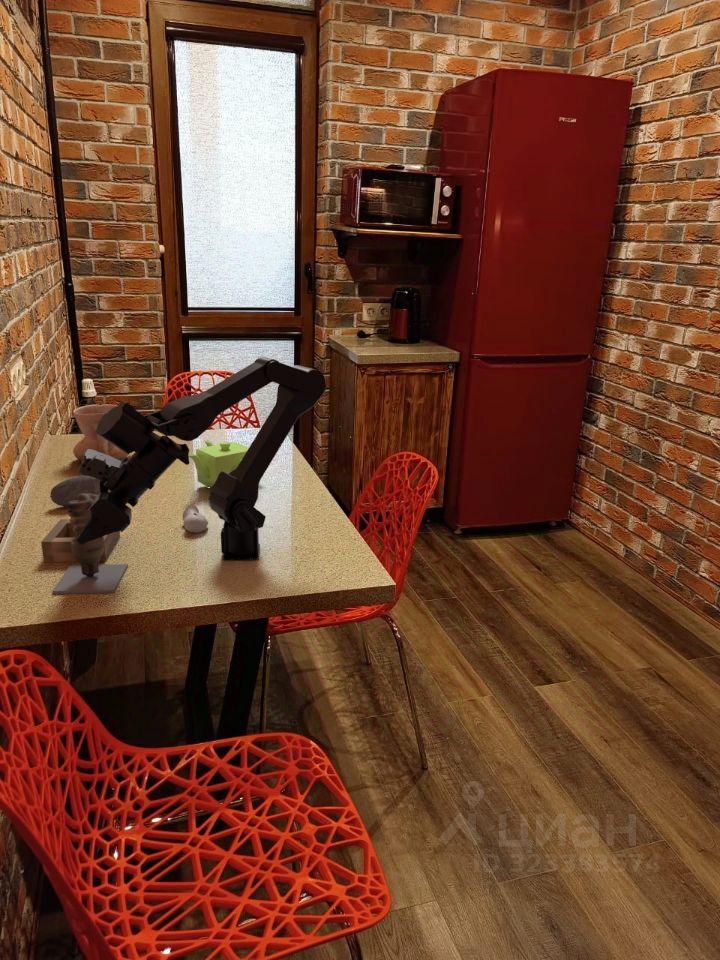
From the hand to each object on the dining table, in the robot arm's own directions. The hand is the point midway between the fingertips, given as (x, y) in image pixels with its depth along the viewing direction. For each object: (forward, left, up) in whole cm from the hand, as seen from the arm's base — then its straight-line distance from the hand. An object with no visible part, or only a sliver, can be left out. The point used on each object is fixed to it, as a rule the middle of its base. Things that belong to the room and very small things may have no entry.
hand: (82, 531), depth 117 cm
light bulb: (-1, 0, -9) cm, 9 cm away
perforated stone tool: (+10, -38, -9) cm, 41 cm away
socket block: (+4, -13, -9) cm, 16 cm away
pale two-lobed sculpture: (-15, -23, -9) cm, 29 cm away
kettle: (-19, -49, -9) cm, 53 cm away
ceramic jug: (+15, -71, -9) cm, 73 cm away
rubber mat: (-1, 0, -9) cm, 9 cm away
